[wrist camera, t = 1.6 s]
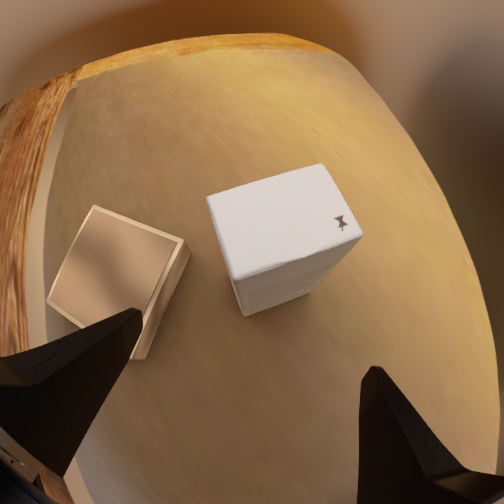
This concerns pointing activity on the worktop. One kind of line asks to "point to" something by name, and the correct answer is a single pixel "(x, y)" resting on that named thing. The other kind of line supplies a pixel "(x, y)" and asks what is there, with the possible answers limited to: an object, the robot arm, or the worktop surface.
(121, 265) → the plinth
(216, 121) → the worktop surface
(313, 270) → the skincare box
